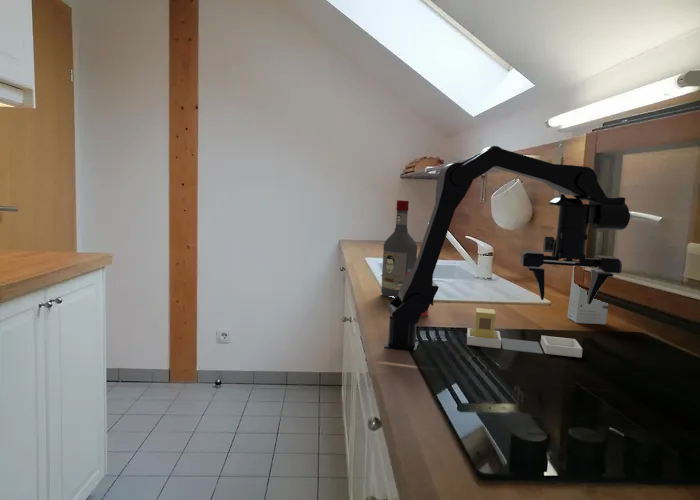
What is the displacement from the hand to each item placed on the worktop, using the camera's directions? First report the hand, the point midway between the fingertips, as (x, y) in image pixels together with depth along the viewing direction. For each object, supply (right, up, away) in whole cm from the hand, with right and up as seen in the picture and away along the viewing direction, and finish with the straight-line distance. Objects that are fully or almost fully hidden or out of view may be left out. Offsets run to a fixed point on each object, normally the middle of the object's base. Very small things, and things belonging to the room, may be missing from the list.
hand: (565, 301), depth 102 cm
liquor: (-31, -4, +50) cm, 59 cm away
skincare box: (+18, -9, +29) cm, 35 cm away
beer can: (-28, -7, +27) cm, 40 cm away
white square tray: (-1, -11, +1) cm, 11 cm away
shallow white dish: (-16, -10, +5) cm, 19 cm away
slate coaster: (-8, -10, +3) cm, 14 cm away
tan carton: (-16, -9, +5) cm, 19 cm away
